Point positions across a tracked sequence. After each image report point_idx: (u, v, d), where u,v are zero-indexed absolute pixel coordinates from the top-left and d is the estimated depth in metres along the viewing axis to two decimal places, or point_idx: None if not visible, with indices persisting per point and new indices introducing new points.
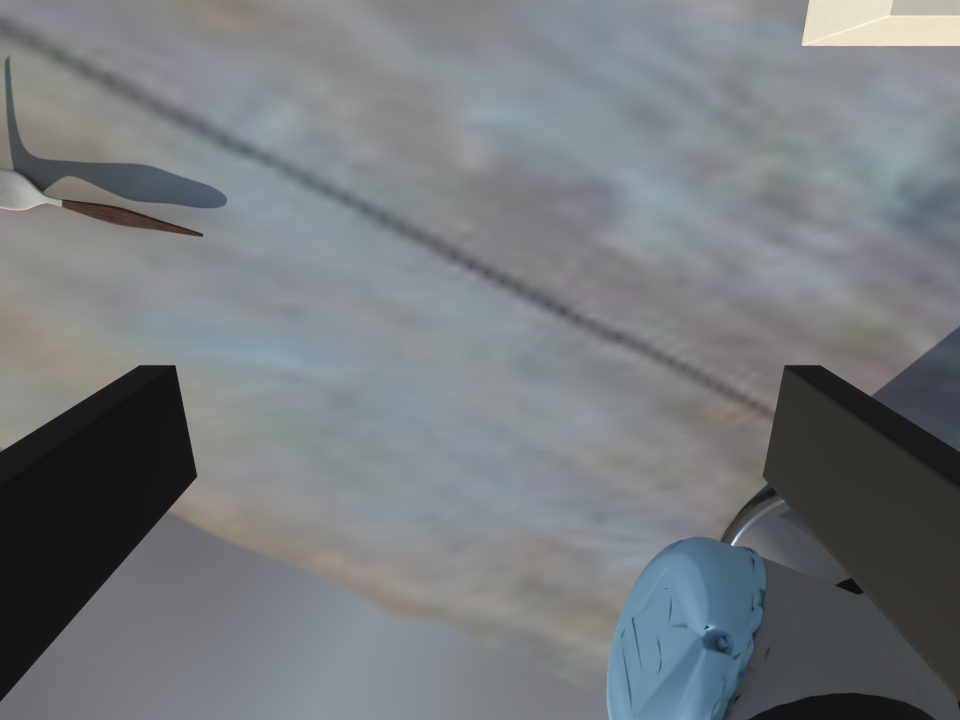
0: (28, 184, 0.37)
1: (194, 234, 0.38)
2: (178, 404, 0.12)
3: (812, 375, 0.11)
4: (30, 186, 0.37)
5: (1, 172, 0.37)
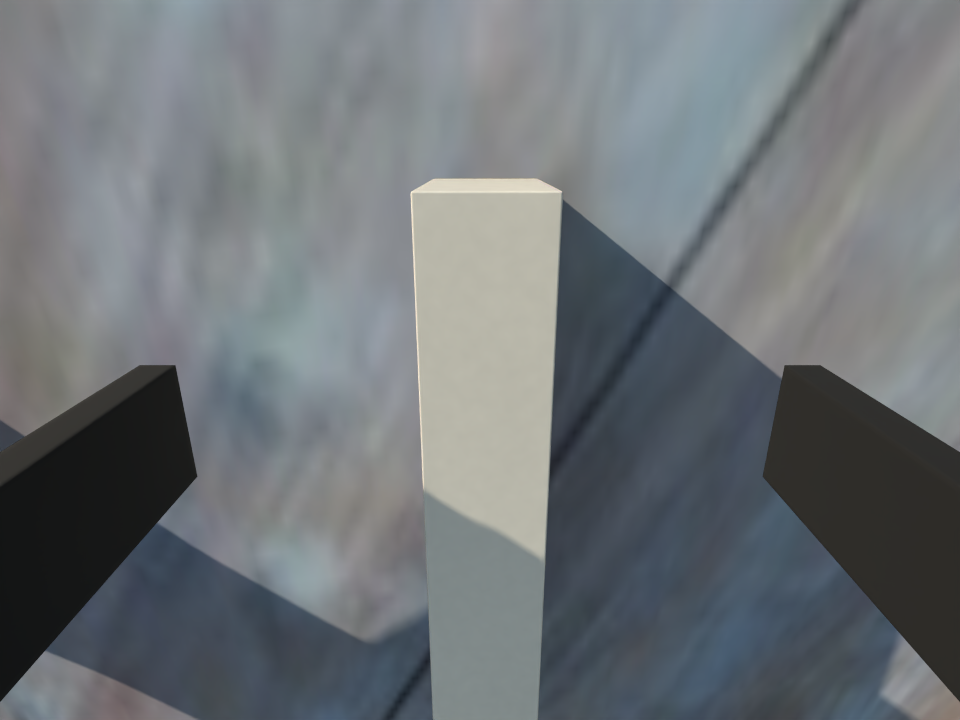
0: None
1: None
2: (179, 404, 0.12)
3: (812, 375, 0.11)
4: None
5: None
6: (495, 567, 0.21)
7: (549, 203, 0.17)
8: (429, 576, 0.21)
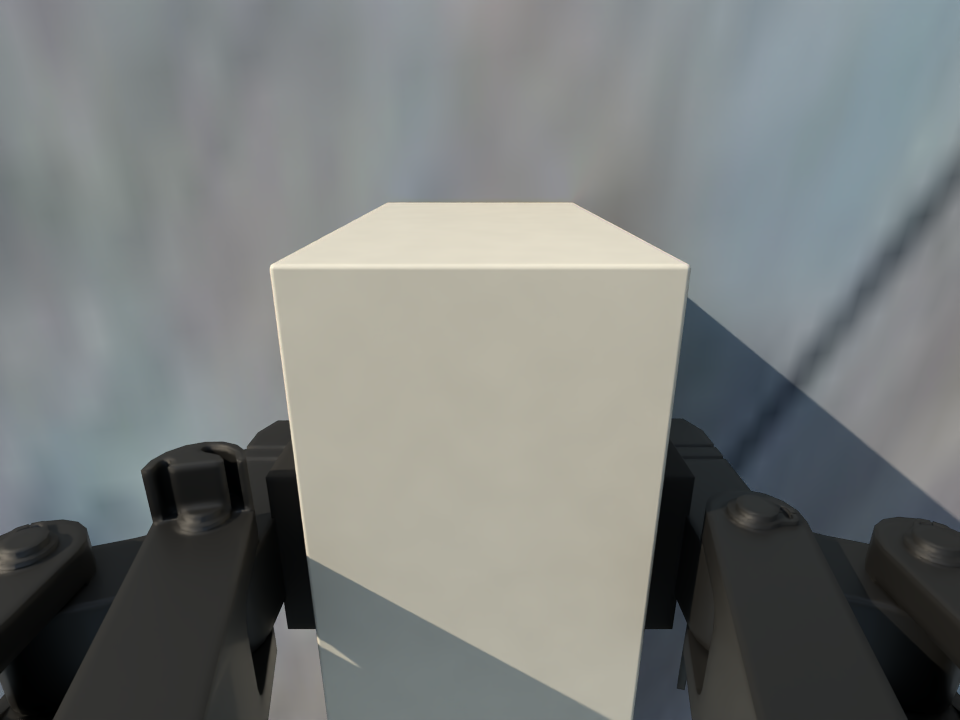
0: None
1: None
2: None
3: None
4: None
5: None
6: None
7: (654, 296, 0.06)
8: None
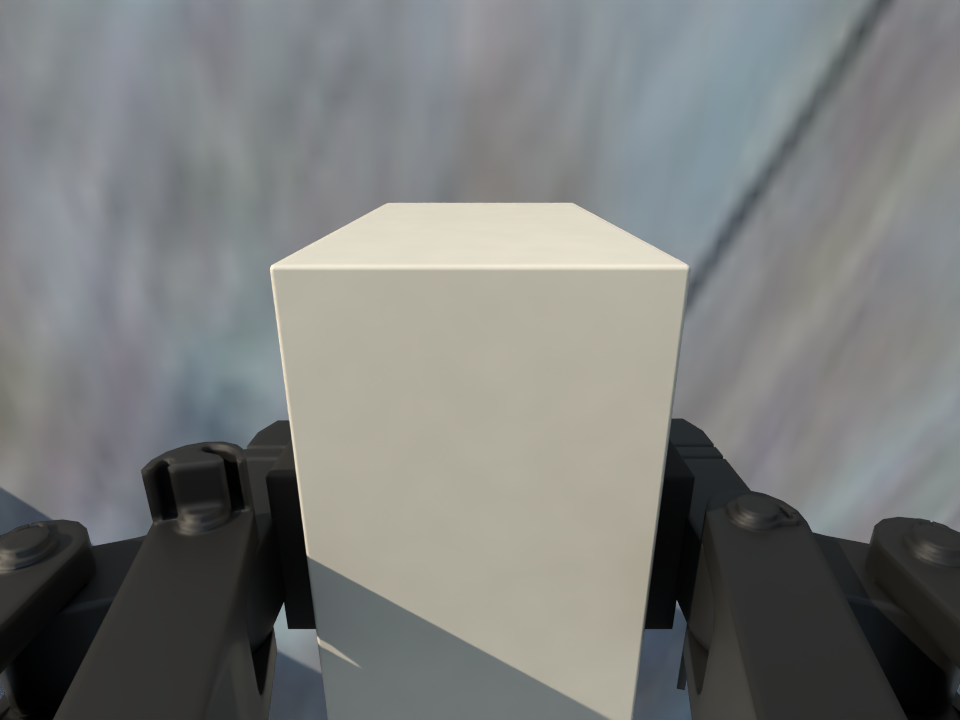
0: None
1: None
2: None
3: None
4: None
5: None
6: None
7: (654, 297, 0.06)
8: None
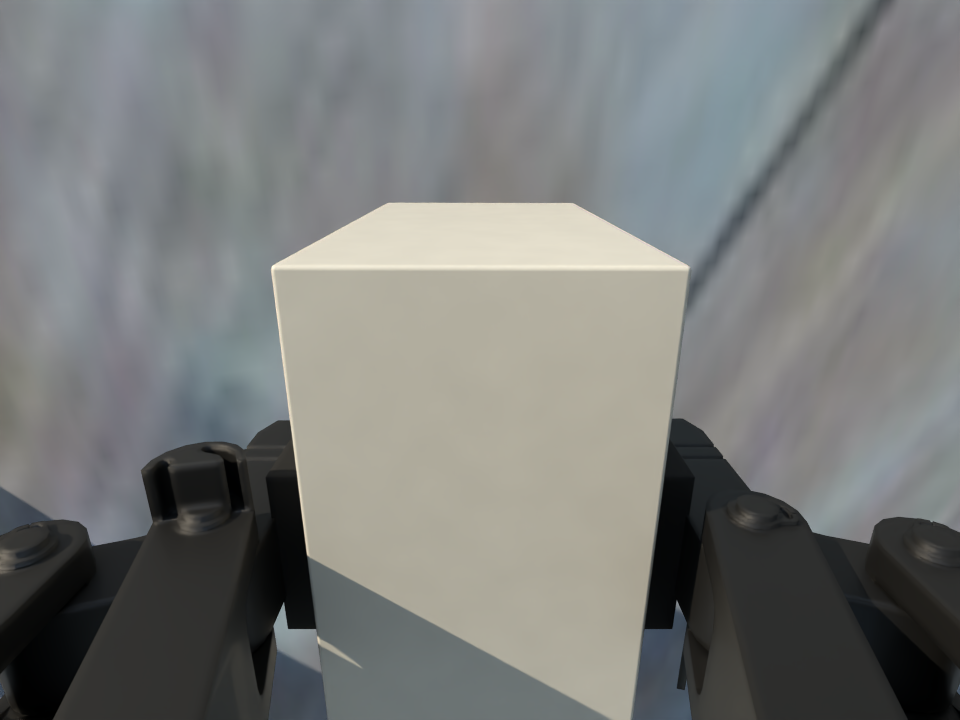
0: None
1: None
2: None
3: None
4: None
5: None
6: None
7: (654, 297, 0.06)
8: None
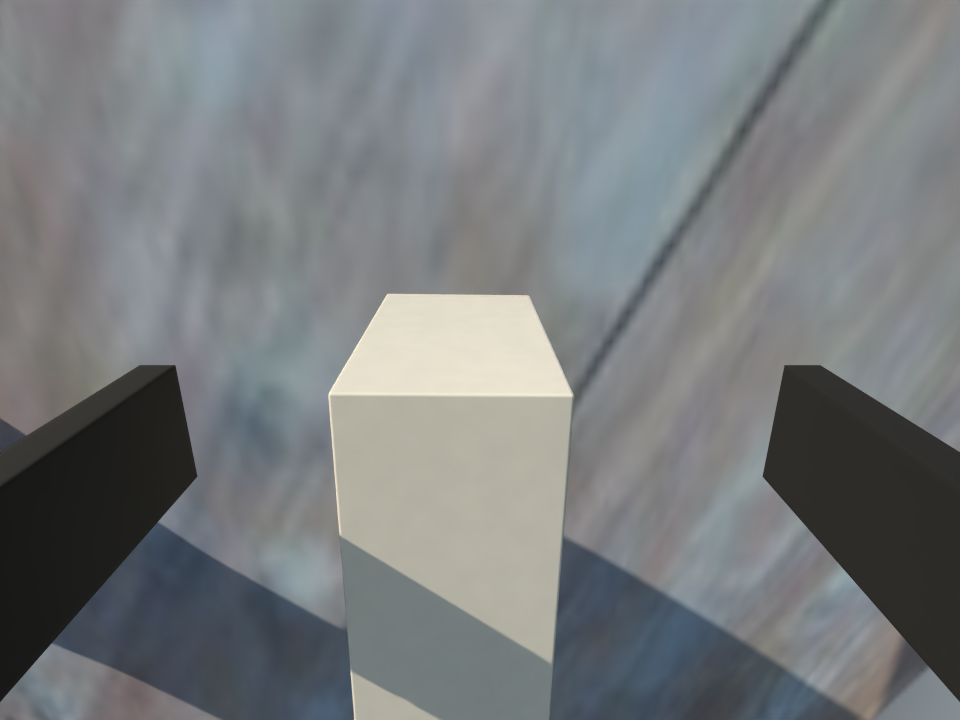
0: None
1: None
2: (178, 404, 0.12)
3: (812, 375, 0.11)
4: None
5: None
6: None
7: (553, 411, 0.10)
8: None
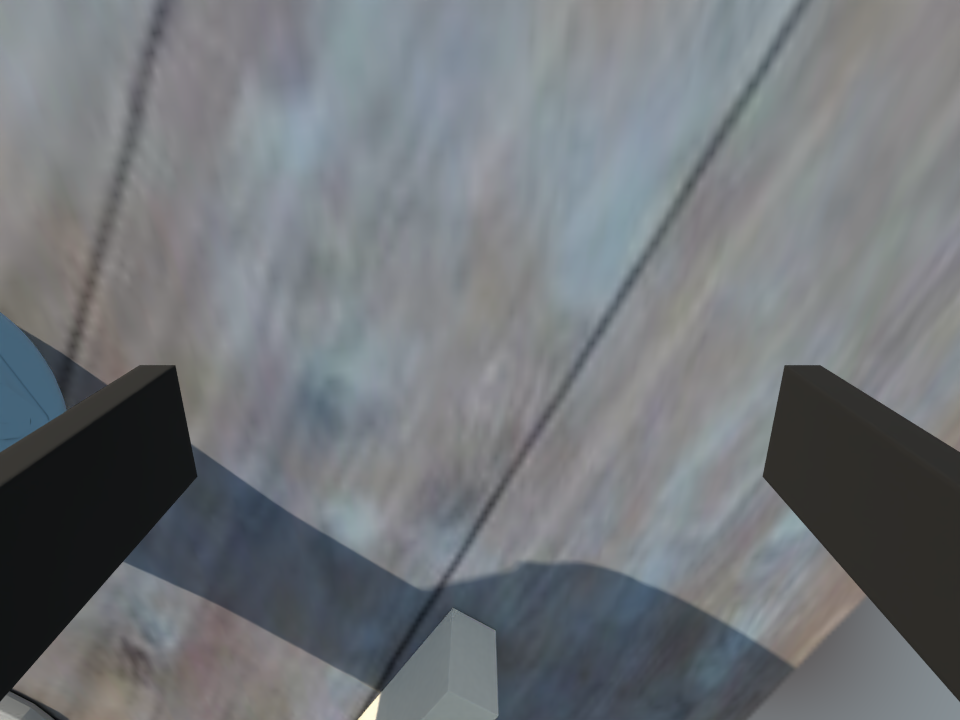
0: None
1: None
2: (178, 404, 0.12)
3: (812, 375, 0.11)
4: None
5: None
6: None
7: (492, 716, 0.41)
8: None
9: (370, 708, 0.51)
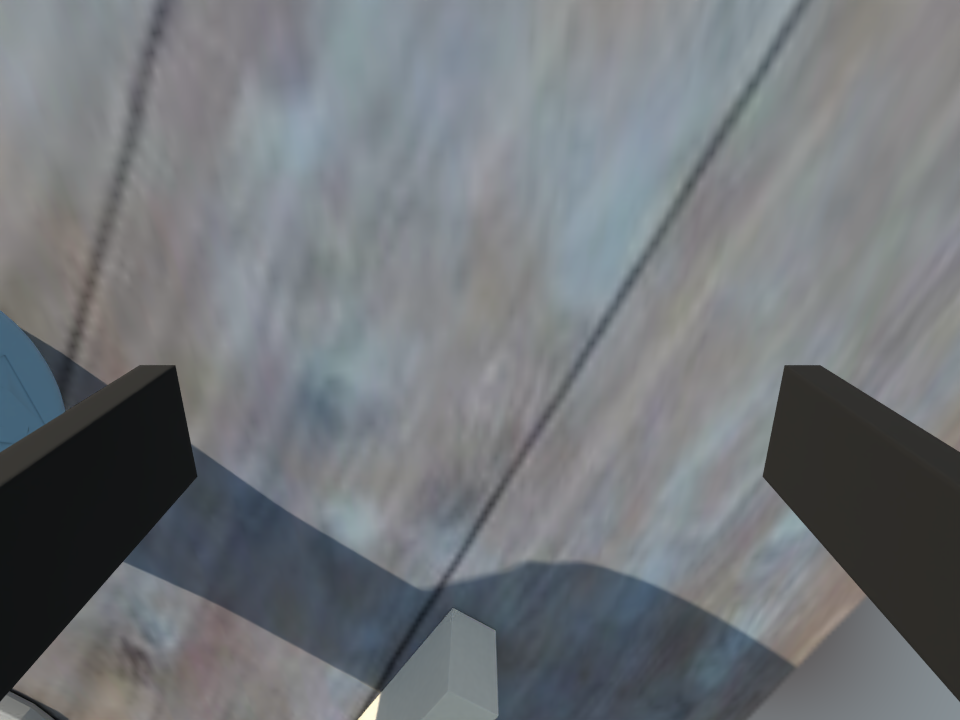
0: None
1: None
2: (178, 404, 0.12)
3: (812, 375, 0.11)
4: None
5: None
6: None
7: (492, 716, 0.41)
8: None
9: (370, 708, 0.51)
